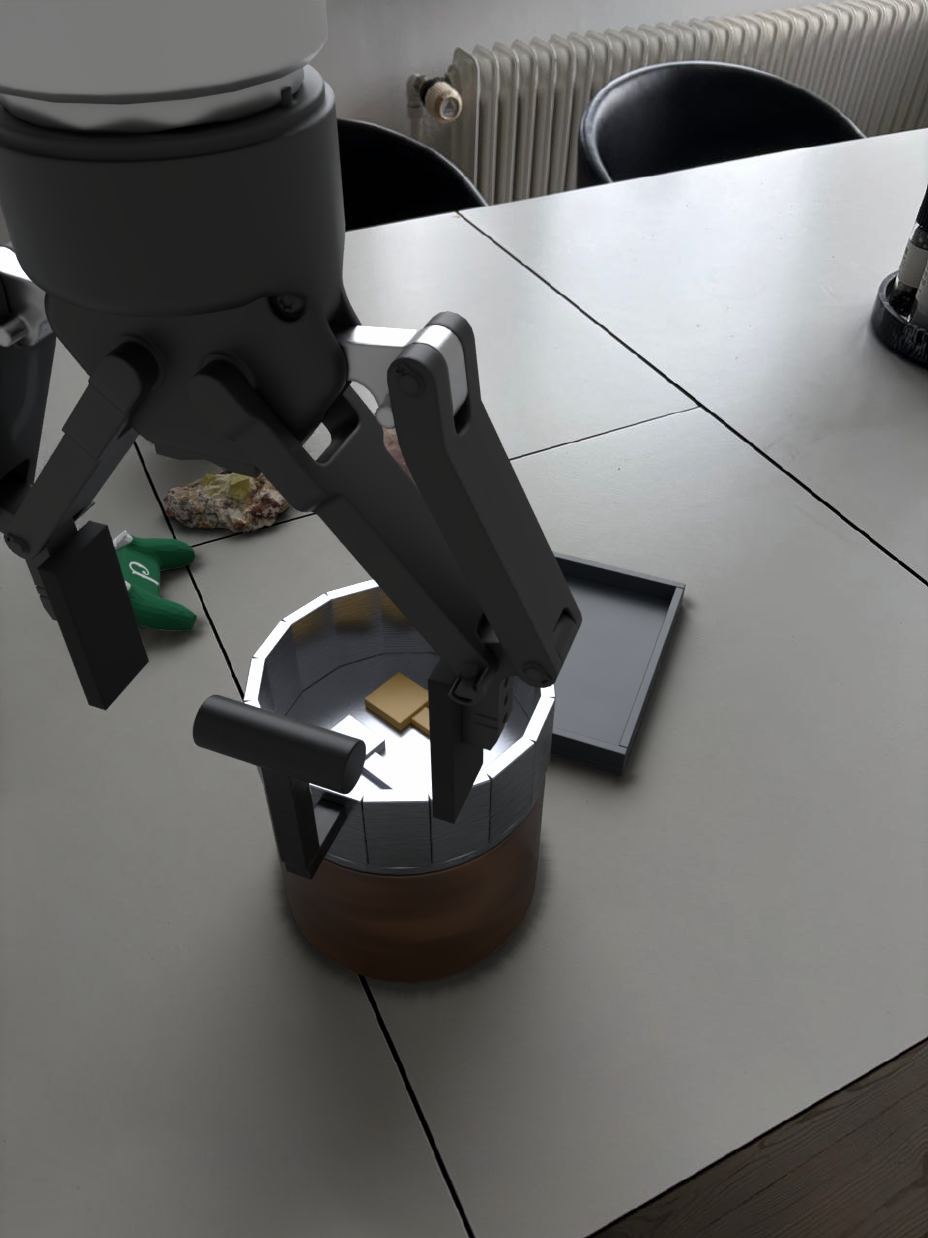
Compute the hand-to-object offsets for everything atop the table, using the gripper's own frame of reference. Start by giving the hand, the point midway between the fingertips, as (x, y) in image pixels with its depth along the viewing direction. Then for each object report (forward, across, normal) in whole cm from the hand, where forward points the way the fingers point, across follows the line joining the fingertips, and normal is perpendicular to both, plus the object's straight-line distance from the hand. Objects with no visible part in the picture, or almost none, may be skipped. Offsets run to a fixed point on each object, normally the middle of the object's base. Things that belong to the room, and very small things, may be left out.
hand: (280, 734), depth 36 cm
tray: (+22, 0, -30) cm, 37 cm away
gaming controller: (+23, +27, -24) cm, 43 cm away
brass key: (+12, 0, -12) cm, 17 cm away
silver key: (+12, +1, -8) cm, 14 cm away
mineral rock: (+23, +28, -36) cm, 51 cm away
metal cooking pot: (+12, 0, -8) cm, 15 cm away
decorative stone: (+23, +16, -47) cm, 54 cm away
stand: (+22, 0, -10) cm, 25 cm away
